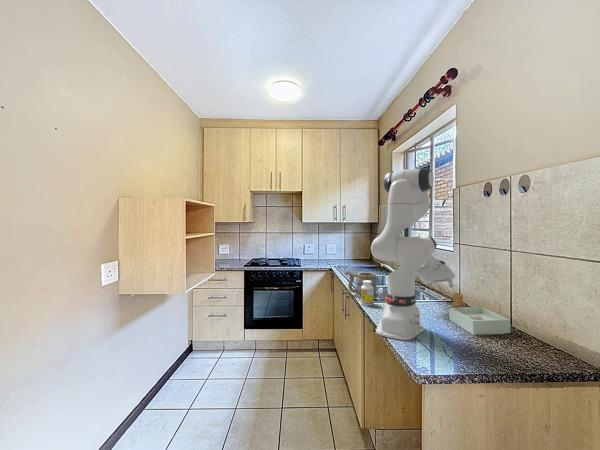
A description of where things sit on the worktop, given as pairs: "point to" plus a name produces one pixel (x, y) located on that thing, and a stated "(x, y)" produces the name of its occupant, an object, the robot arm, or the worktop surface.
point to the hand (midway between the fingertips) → (445, 288)
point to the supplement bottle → (367, 293)
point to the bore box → (479, 320)
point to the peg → (457, 300)
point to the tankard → (360, 279)
